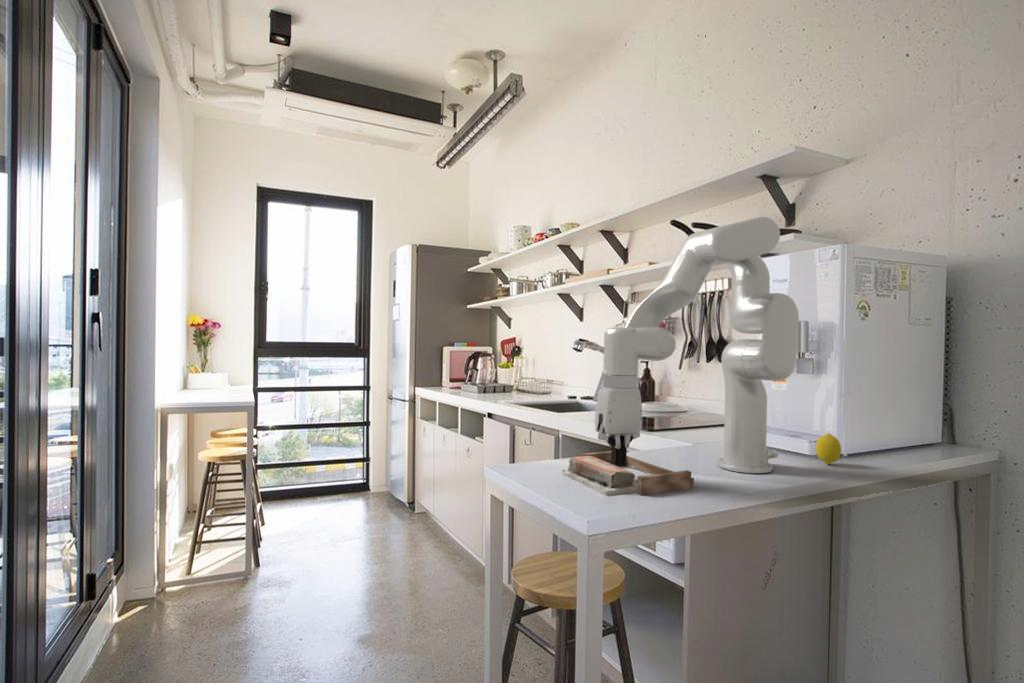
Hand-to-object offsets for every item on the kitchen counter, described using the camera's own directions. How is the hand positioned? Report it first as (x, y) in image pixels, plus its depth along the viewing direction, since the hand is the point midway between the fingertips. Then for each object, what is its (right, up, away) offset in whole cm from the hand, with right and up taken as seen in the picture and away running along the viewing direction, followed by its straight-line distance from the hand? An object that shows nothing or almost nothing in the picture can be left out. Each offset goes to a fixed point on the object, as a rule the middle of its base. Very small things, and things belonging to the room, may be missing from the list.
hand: (618, 465), depth 119 cm
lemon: (+57, -4, +17) cm, 60 cm away
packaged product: (-4, -4, -2) cm, 6 cm away
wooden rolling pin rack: (+3, -3, +2) cm, 5 cm away
